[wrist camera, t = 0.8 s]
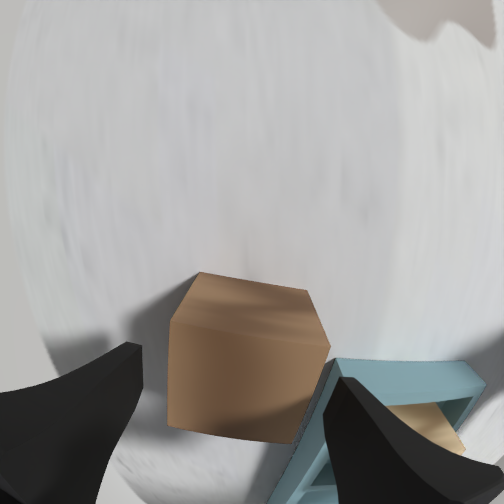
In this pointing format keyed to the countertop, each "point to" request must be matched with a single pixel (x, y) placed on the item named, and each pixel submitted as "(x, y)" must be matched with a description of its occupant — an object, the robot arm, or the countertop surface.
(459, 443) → the oak twin block
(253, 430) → the walnut block
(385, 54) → the countertop surface
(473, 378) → the caddy
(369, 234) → the countertop surface
